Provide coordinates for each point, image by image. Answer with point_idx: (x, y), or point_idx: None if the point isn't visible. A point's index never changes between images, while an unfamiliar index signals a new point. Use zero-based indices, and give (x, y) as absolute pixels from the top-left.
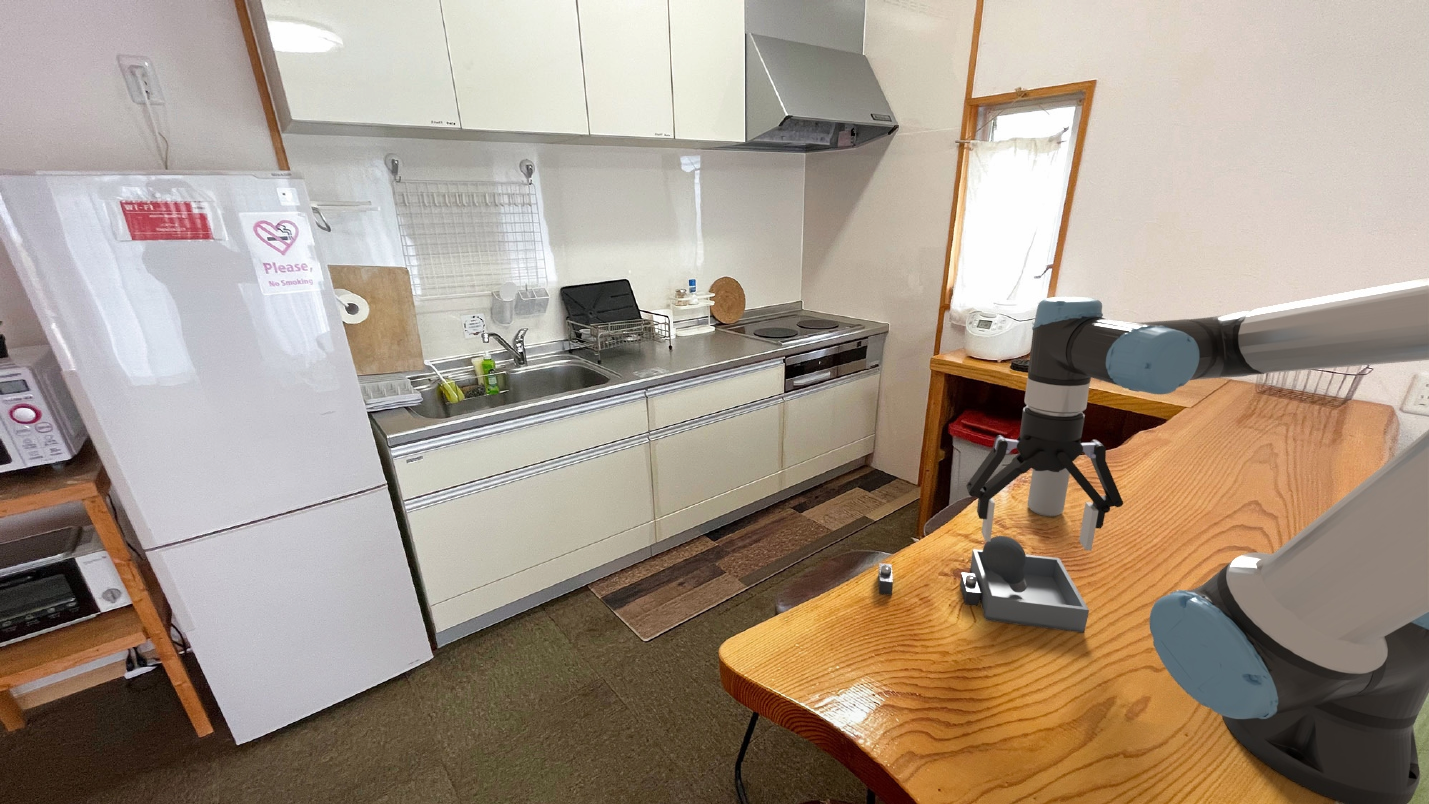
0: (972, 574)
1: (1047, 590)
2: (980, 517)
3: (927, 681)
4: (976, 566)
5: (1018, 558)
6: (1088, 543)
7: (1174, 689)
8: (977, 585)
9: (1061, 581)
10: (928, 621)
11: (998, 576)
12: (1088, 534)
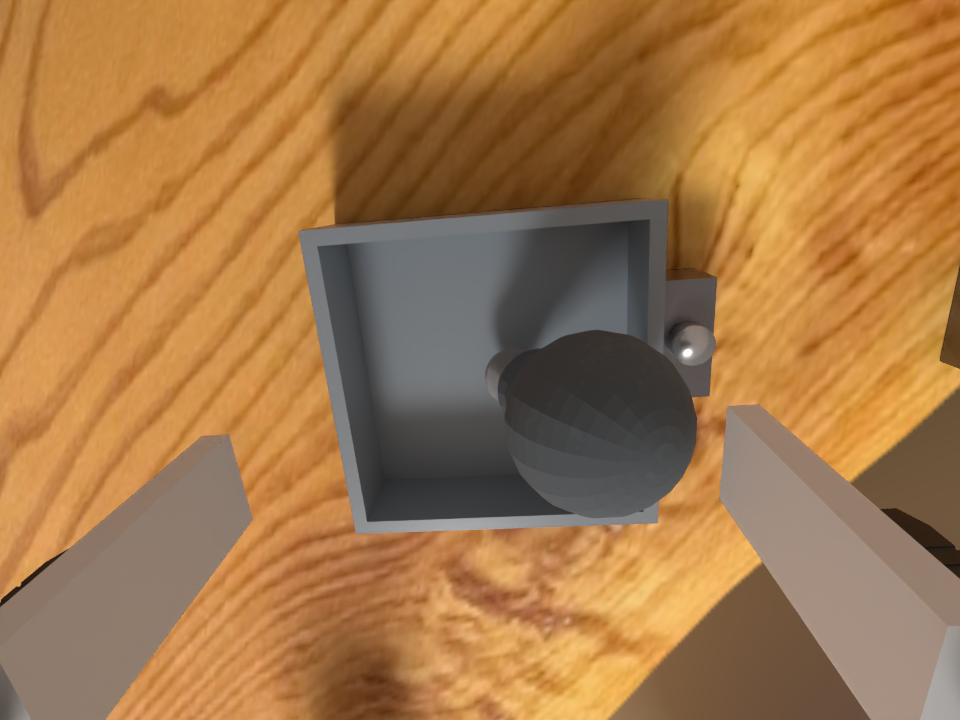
0: None
1: (412, 407)
2: (898, 517)
3: None
4: None
5: (553, 370)
6: (195, 456)
7: (117, 12)
8: (666, 326)
9: (366, 434)
10: (854, 125)
11: None
12: (166, 493)
